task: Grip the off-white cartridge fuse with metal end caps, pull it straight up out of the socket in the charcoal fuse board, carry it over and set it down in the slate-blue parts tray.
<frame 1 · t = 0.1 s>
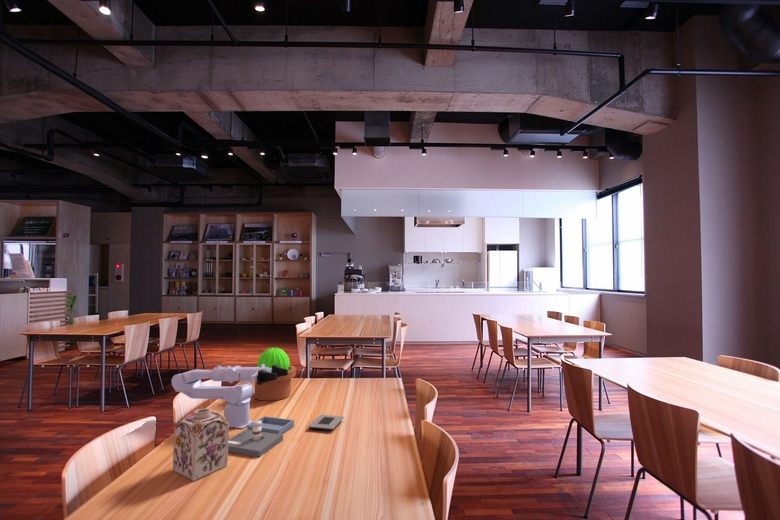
hand: (282, 374, 150), 22 cm above the table, tool horizontal, fingers open, 7 cm apart
decorative jar: (200, 469, 118), on the table
electrical outlet: (326, 426, 154), on the table
blown fuse: (256, 444, 136), resting in fuse board
parts tray: (271, 429, 150), on the table
potted cactus: (272, 396, 192), on the table
fuse board: (252, 445, 135), on the table
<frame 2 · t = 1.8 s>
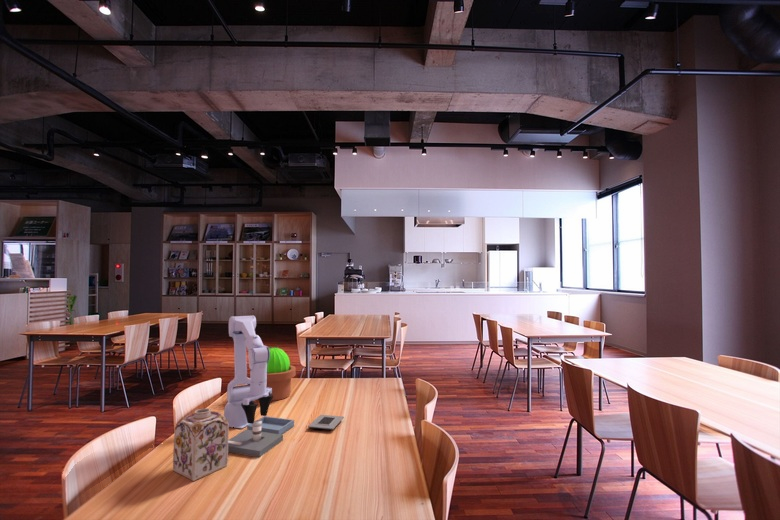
hand: (257, 419, 136), 9 cm above the table, tool pointing down, fingers open, 7 cm apart
nothing on the table moved.
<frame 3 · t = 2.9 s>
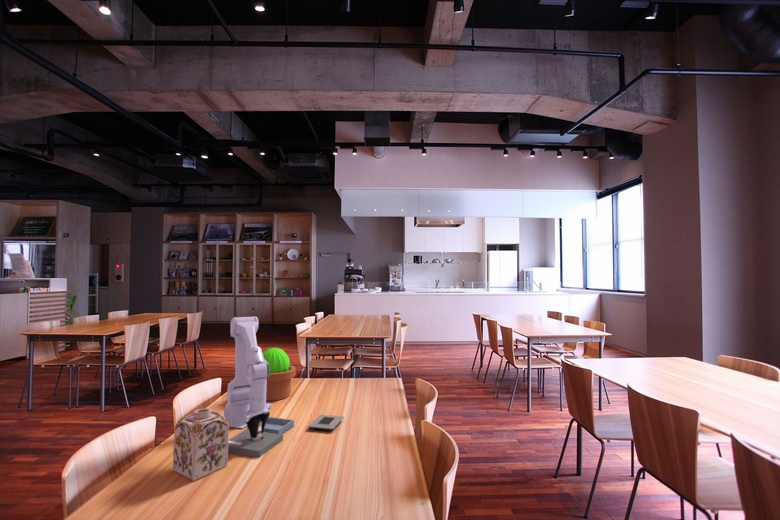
hand: (256, 435, 136), 3 cm above the table, tool pointing down, fingers closed on blown fuse, 3 cm apart
blown fuse: (256, 444, 136), resting in fuse board, touching gripper
everything else where it was.
when the fingers open (5 cm above the table, at t = 7.4 s): blown fuse drops 1 cm, resting on parts tray.
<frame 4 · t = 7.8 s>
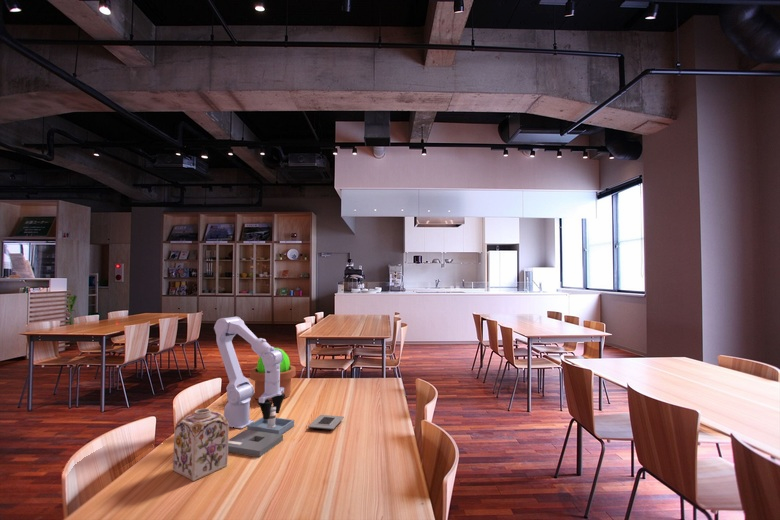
hand: (271, 415, 150), 5 cm above the table, tool pointing down, fingers open, 6 cm apart
blown fuse: (271, 428, 150), point 1 cm above the table, touching parts tray
everything else where it was.
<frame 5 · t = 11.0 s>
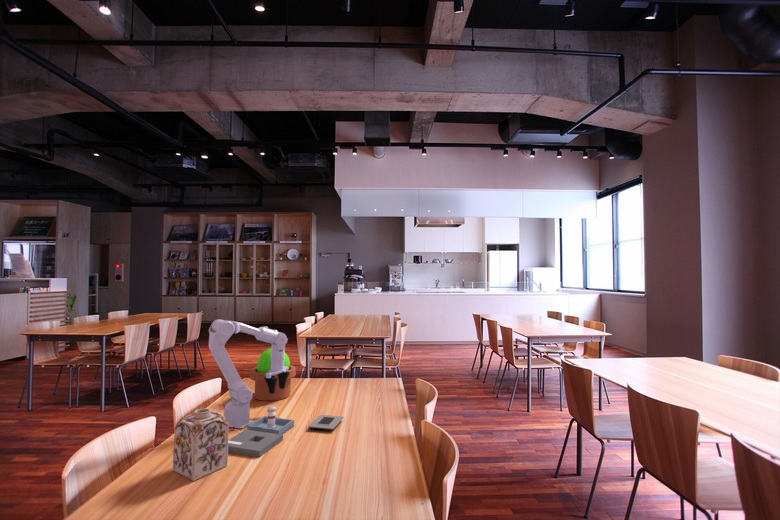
hand: (277, 390, 166), 10 cm above the table, tool pointing down, fingers open, 7 cm apart
nothing on the table moved.
at the end: blown fuse inside the target area on the parts tray (0.1 cm from its centre), point 0.5 cm above the parts tray's base; the gripper is holding nothing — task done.
